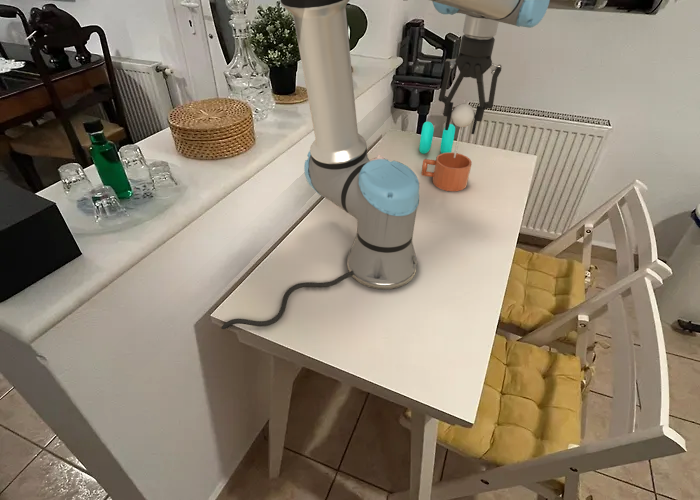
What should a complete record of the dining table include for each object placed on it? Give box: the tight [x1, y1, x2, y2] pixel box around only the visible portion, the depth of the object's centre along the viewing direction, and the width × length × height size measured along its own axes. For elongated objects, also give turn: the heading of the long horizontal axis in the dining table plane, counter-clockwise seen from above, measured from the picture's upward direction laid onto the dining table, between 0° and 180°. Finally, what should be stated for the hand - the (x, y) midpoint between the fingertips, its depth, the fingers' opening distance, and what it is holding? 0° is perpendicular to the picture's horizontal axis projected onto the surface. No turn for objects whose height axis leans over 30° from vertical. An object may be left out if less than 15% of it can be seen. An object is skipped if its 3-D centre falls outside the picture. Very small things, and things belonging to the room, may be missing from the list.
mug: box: [420, 152, 473, 192], centre depth 122 cm, size 13×10×7 cm
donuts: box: [418, 120, 456, 155], centre depth 135 cm, size 10×10×10 cm
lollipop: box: [451, 103, 476, 158], centre depth 114 cm, size 6×6×15 cm
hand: (460, 129), depth 114 cm, fingers closed on lollipop, 6 cm apart
